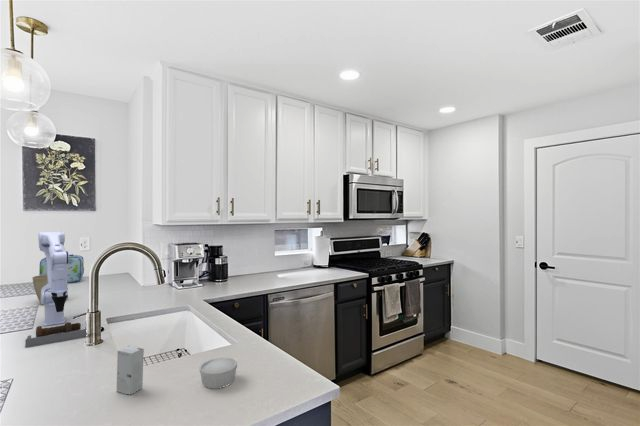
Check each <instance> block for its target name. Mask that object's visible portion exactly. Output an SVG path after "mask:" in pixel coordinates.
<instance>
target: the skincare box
mask: <svg viewBox="0 0 640 426" xmlns="http://www.w3.org/2000/svg"><path fill="white" fill-rule="evenodd" d="M144 350H145V349H144V348H143V347H139V346H135V345H134V346H133V345H132V344H131V345H130V344H129V345H126V346H125V347H122V348H119V349H118V350H117V358H116V359H117V360H116V361H117V363H116V392H118V393H121V394H124V395H127V394H129V395H128V396H131V395H130V394H132V393H134V392H135V393H137V392H139V391H140V390H139V389H141V388H142V389H143V379H144V378H143V377H144V353H145V351H144ZM142 389H141V390H142ZM138 390H139V391H138ZM136 391H137V392H136ZM135 393H134V394H135ZM132 395H133V394H132Z"/></svg>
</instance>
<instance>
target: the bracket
mask: <svg viewBox="0 0 640 426" xmlns="http://www.w3.org/2000/svg"><path fill="white" fill-rule="evenodd" d="M82 338H87V337H86V326H85V327H84V329H79V330H76V331H71V332H66V333H65V332H64V333H58V334H53V335H47V336H41V337H36V336H35V337H32V335H31V334H30V335H27V337H26V338H25V341H24V342H25V348H30V347H37V346H42V345H47V344H54V343H59V342H65V341H70V340H77V339H82Z"/></svg>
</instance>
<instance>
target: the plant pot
mask: <svg viewBox="0 0 640 426" xmlns="http://www.w3.org/2000/svg"><path fill="white" fill-rule="evenodd" d="M32 283H33V284H32V285H33V287H34V291H35V294H36V297H37V299H38V301H39V303H40V305H41V306H43V305H42V304H41V289H42V288H43V287H44V286H45V285H47V284H48V279H47V275H35V276H32Z"/></svg>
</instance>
